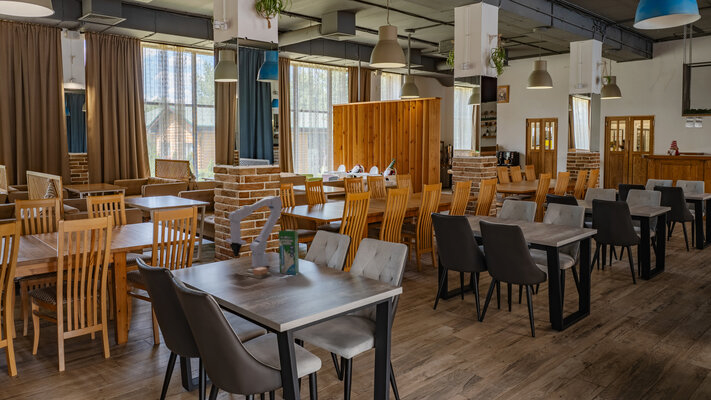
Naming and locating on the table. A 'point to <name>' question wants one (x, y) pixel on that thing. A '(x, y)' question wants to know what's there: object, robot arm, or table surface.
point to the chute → (253, 274)
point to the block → (260, 271)
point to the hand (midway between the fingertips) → (236, 256)
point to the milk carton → (288, 252)
